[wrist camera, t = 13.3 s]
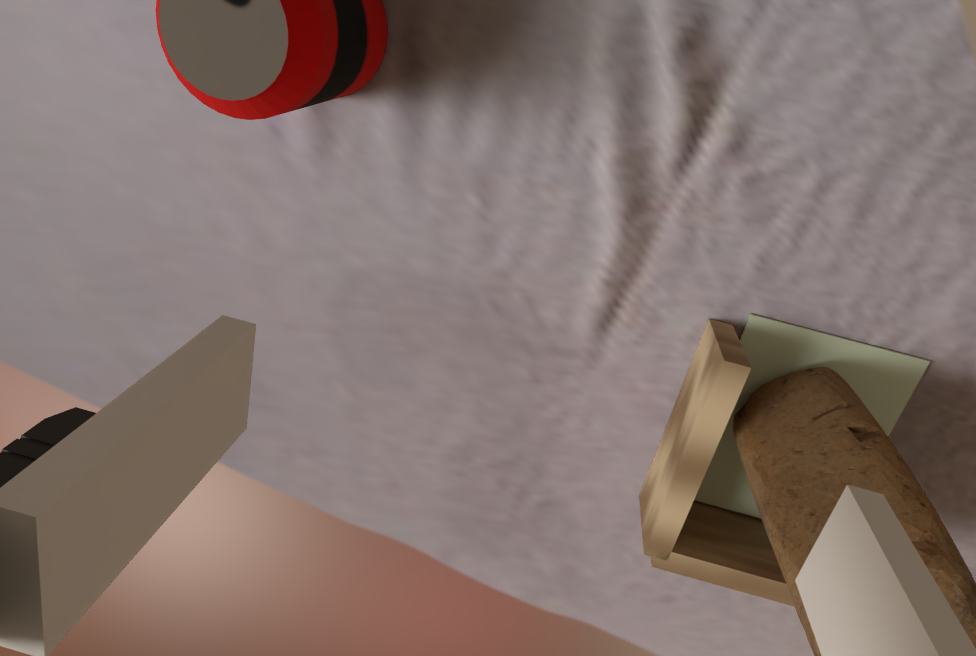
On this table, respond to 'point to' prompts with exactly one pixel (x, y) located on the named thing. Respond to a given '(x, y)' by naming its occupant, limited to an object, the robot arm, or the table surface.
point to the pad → (793, 348)
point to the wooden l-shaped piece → (680, 471)
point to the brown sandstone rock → (835, 479)
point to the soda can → (271, 51)
